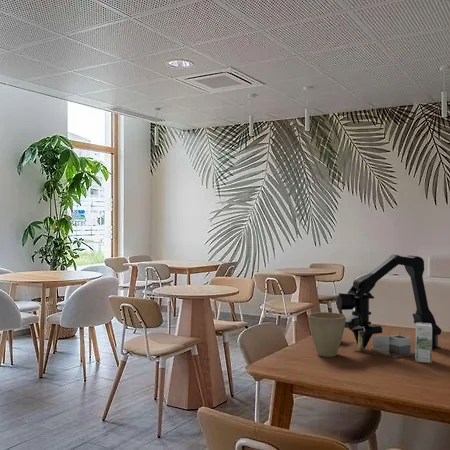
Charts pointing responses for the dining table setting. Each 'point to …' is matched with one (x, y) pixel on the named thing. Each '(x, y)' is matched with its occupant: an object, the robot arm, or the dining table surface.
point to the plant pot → (327, 332)
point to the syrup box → (423, 343)
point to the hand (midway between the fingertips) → (361, 346)
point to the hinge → (392, 346)
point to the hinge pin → (360, 342)
